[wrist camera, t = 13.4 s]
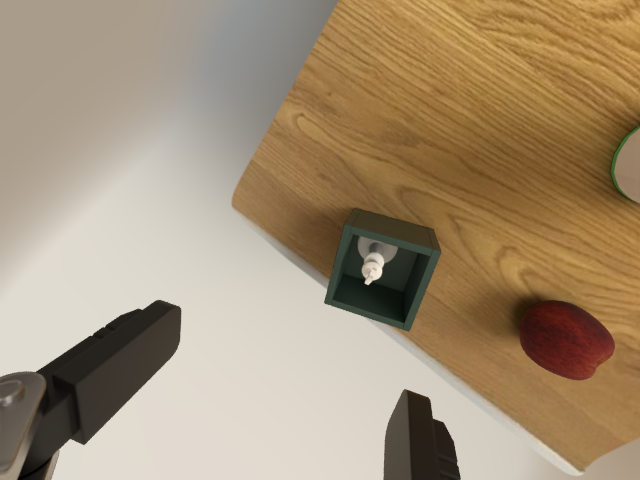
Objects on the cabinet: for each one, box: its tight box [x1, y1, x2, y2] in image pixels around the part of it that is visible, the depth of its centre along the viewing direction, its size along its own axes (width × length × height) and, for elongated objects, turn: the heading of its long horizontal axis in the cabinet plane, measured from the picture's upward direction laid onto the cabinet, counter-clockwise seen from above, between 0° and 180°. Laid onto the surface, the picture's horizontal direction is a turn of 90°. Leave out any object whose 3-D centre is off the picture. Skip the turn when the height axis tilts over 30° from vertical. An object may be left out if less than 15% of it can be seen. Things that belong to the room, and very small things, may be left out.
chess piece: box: [358, 236, 398, 285], centre depth 32 cm, size 5×5×10 cm
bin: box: [324, 208, 441, 331], centre depth 34 cm, size 10×10×8 cm
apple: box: [520, 300, 615, 380], centre depth 31 cm, size 7×8×8 cm
